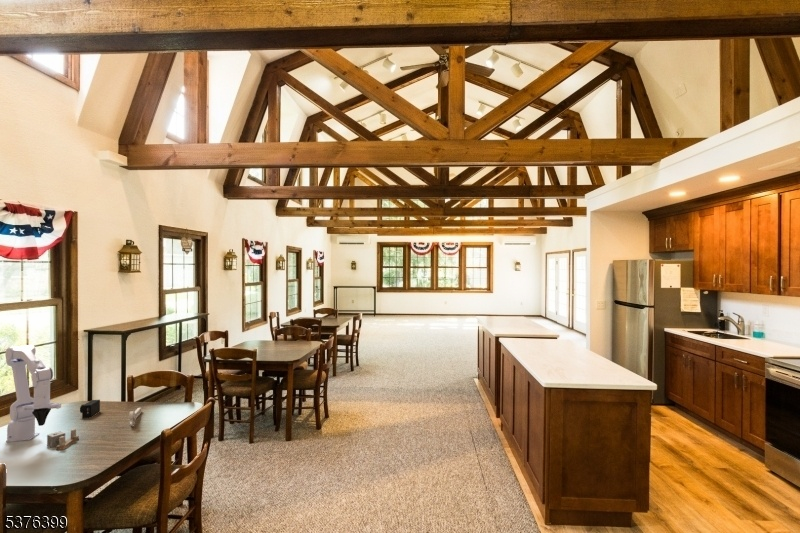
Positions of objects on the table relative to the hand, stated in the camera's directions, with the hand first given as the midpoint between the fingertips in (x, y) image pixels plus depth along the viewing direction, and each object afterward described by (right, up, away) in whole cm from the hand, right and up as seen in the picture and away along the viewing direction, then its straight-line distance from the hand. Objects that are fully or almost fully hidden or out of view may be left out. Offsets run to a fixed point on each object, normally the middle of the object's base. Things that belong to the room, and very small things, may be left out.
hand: (41, 424), depth 192 cm
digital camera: (-9, -10, +41) cm, 43 cm away
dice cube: (+6, -10, +1) cm, 11 cm away
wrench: (+22, -10, +33) cm, 41 cm away
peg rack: (+11, -9, +1) cm, 15 cm away
